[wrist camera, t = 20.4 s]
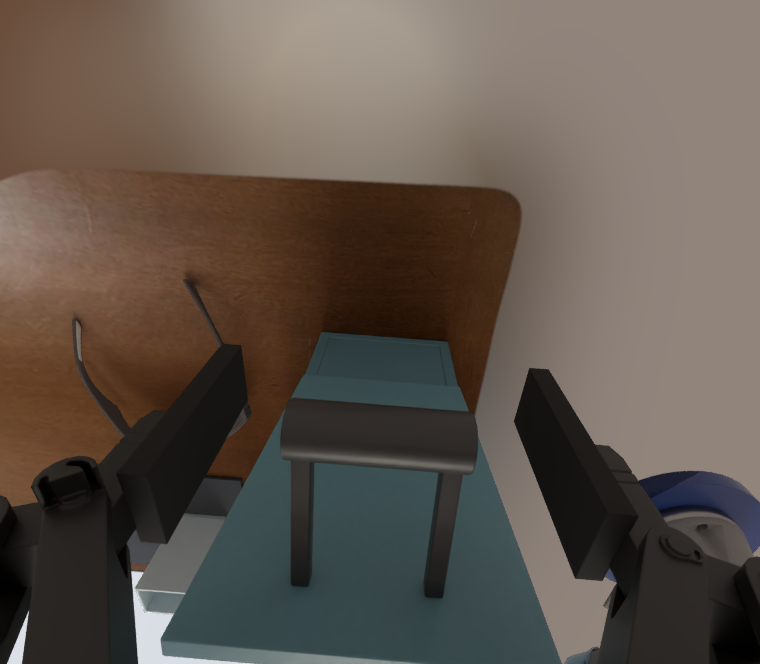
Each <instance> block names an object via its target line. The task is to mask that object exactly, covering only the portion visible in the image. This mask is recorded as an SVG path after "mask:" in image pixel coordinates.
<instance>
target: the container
mask: <svg viewBox="0 0 760 664" xmlns="http://www.w3.org/2000/svg"><path fill="white" fill-rule="evenodd" d="M225 519H226V517H224V516H212V515H199V514H187V513H184V515H183V517H182V519H181V520H180V522H179V524H178V526H177V528H176V529H175V531H174V533H173V535H172V536H171V538H170V540H169V542H168V544H160V546H159V547H158V549H157V551H156V552H155V554H154V556H153V558H152V559H151V561H150V563H149V565H148V566H147V568H146V570H145V572H144V573H143V575H142V577H141V579H140V580H139V582H138V584H137V585H136V587H135V591H136V593H137V596H138V598H139V601H140V603H141V606H142V608H143V611H144V612H149V613H159V614H171V615H174V613H175V611H176V610H177V608H178V606H179V604H180V602H181V600H182V599H183V597H184V595H185V593H186V591H187V589H188V587H189V586H190V584H191V582H192V580H193V578H194V576H195V574H196V573H197V571H198V569H199V567H200V565H201V563H202V562H203V560H204V558H205V556H206V554H207V552H208V550H209V549H210V547H211V545H212V543H213V541H214V539H215V537H216V536H217V534H218V532H219V530H220V528H221V526H222V525H223V523H224V521H225Z"/></svg>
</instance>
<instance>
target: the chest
mask: <svg viewBox="0 0 760 664" xmlns="http://www.w3.org/2000/svg"><path fill="white" fill-rule="evenodd" d="M305 375H315V376H328V377H341V378H353V379H366V380H379V381H391V382H404V383H417V384H429V385H442V386H454V387H458V385H457V380H456V376H455V371H454V367H453V362H452V358H451V354H450V349H449V345H448V342H445V341H432V340H419V339H406V338H393V337H381V336H368V335H355V334H342V333H329V332H321V335H320V337H319V340H318V342H317V345H316V347H315V350H314V353H313V355H312V358H311V360H310V363H309V366H308V368H307V371H306V373H305Z"/></svg>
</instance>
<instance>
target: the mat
mask: <svg viewBox="0 0 760 664" xmlns="http://www.w3.org/2000/svg"><path fill="white" fill-rule="evenodd" d="M242 487H243V485H242V479H238V478H225V477H213V476H205V477H204V479H203V481H202V483H201V485H200V486H199V488H198V490H197V492H196V494H195V495H194V497H193V499H192V501H191V502H190V504H189V506H188V508H187V510H186V511H185V513H187V514H199V515H212V516H224V517H227V515H228V513H229V512H230V510H231V508H232V506H233V504H234V502H235V500H236V499H237V497H238V495H239V493H240V491H241V489H242ZM127 545H128V547H129V550H130V562H131V563H143V564H149V563H150V561H151V559H152V558H153V556H154V554H155V552H156V551H157V549H158V547H159V546H160V544H156V543H144V542H140V540H139V537H138V534H137V531H136V530H135V531H134V533H133V534H132V536H131V537H130V539H129V540H128V542H127Z"/></svg>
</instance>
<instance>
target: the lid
mask: <svg viewBox="0 0 760 664" xmlns="http://www.w3.org/2000/svg"><path fill="white" fill-rule="evenodd" d="M161 647H162V654H163V655H164V656H173V657H184V658H196V659H207V660H219V661H231V662H242V663H254V664H561V660H560V658H559V656H558V652H557V649H556V647H555V644H554V641H553V639H552V636H551V633H550V631H549V628H548V625H547V622H546V620H545V617H544V614H543V612H542V609H541V606H540V603H539V601H538V598H537V595H536V593H535V590H534V587H533V584H532V582H531V579H530V577H529V574H528V571H527V568H526V565H525V563H524V560H523V557H522V555H521V552H520V549H519V547H518V544H517V541H516V538H515V536H514V533H513V530H512V528H511V525H510V522H509V519H508V517H507V514H506V511H505V509H504V506H503V503H502V500H501V498H500V495H499V493H498V490H497V487H496V484H495V481H494V479H493V476H492V473H491V471H490V468H489V465H488V463H487V460H486V457H485V454H484V452H483V449H482V446H481V444H480V441H479V438H478V431H477V424H476V420H475V416H474V414H473V413H472V412H469V411H468V408H467V406H466V403H465V400H464V397H463V395H462V392H461V389H460V387H454V386H442V385H429V384H417V383H404V382H391V381H379V380H366V379H353V378H341V377H328V376H315V375H303V376H302V378H301V380H300V382H299V384H298V386H297V388H296V389H295V391H294V393H293V395H292V397H291V399H290V400H289V402H288V404H287V406H286V408H285V410H284V412H283V413H282V415H281V417H280V419H279V421H278V423H277V425H276V426H275V428H274V430H273V432H272V434H271V436H270V438H269V439H268V441H267V443H266V445H265V447H264V449H263V450H262V452H261V454H260V456H259V458H258V460H257V462H256V463H255V465H254V467H253V469H252V471H251V473H250V475H249V476H248V478H247V480H246V482H245V484H244V486H243V487H242V489H241V491H240V493H239V495H238V497H237V499H236V500H235V502H234V504H233V506H232V508H231V510H230V512H229V513H228V515H227V517H226V519H225V521H224V523H223V525H222V526H221V528H220V530H219V532H218V534H217V536H216V537H215V539H214V541H213V543H212V545H211V547H210V549H209V550H208V552H207V554H206V556H205V558H204V560H203V562H202V563H201V565H200V567H199V569H198V571H197V573H196V574H195V576H194V578H193V580H192V582H191V584H190V586H189V587H188V589H187V591H186V593H185V595H184V597H183V599H182V600H181V602H180V604H179V606H178V608H177V610H176V611H175V613H174V615H173V617H172V619H171V621H170V623H169V625H168V626H167V628H166V630H165V632H164V634H163V636H162V637H161Z"/></svg>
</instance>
